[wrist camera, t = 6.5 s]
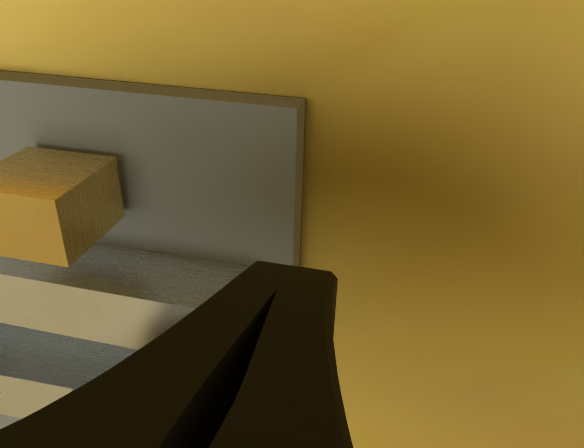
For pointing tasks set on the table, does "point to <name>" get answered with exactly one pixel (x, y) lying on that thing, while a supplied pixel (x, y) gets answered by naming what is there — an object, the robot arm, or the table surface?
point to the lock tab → (56, 204)
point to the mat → (175, 161)
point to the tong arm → (48, 367)
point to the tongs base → (110, 293)
